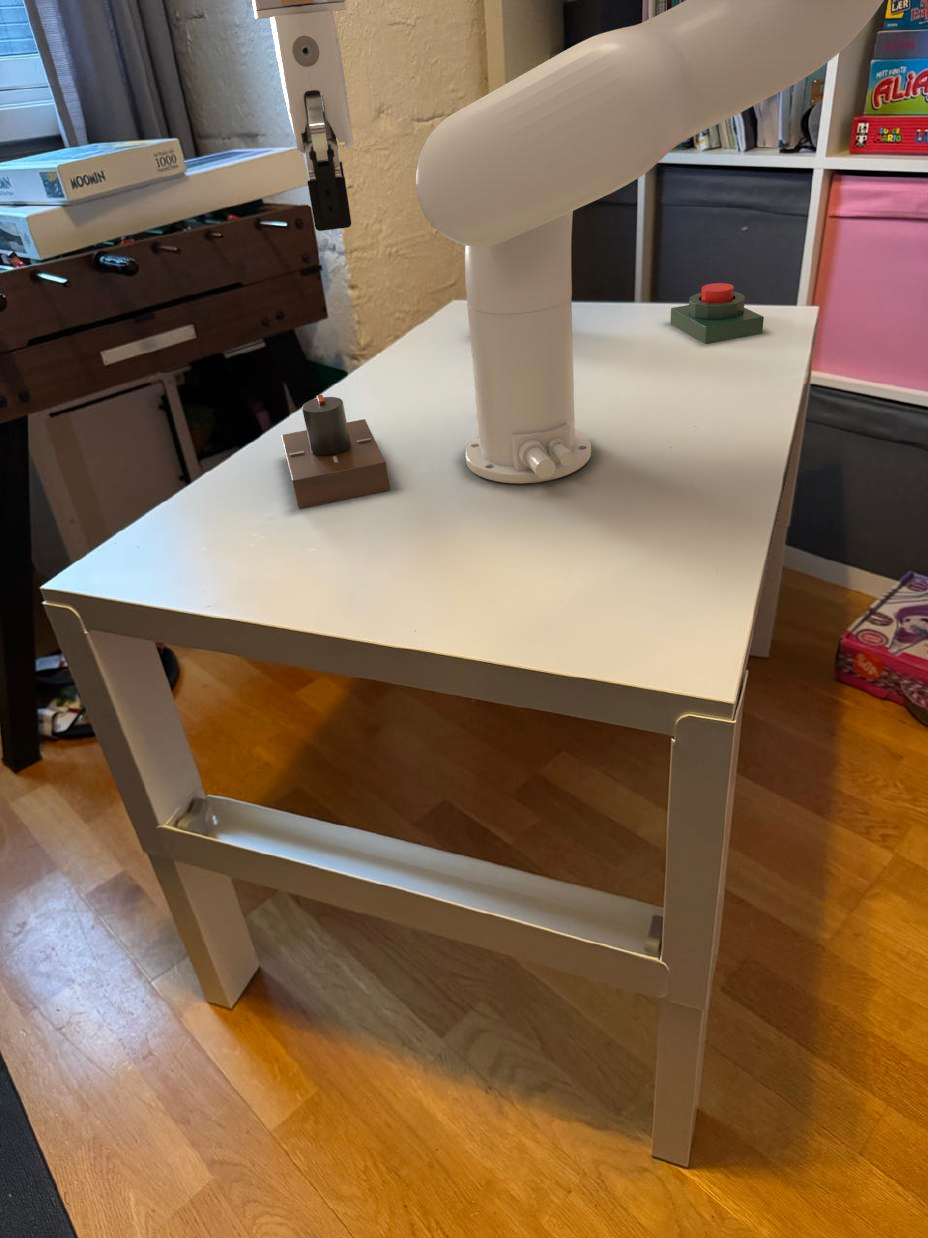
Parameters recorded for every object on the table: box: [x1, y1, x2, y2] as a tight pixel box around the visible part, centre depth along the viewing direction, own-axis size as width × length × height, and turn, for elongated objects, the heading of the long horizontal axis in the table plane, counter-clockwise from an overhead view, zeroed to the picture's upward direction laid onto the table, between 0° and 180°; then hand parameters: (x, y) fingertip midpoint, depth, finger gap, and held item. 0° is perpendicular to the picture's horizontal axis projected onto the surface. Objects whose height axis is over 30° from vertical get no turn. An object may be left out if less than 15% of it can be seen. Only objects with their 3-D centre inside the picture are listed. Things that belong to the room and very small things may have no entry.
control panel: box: [280, 418, 391, 510], centre depth 89 cm, size 12×9×3 cm
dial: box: [301, 394, 351, 456], centre depth 87 cm, size 4×4×5 cm
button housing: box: [670, 291, 765, 345], centre depth 115 cm, size 10×8×4 cm
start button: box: [700, 282, 735, 303], centre depth 114 cm, size 4×4×2 cm
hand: (333, 218), depth 82 cm, fingers open, 9 cm apart
